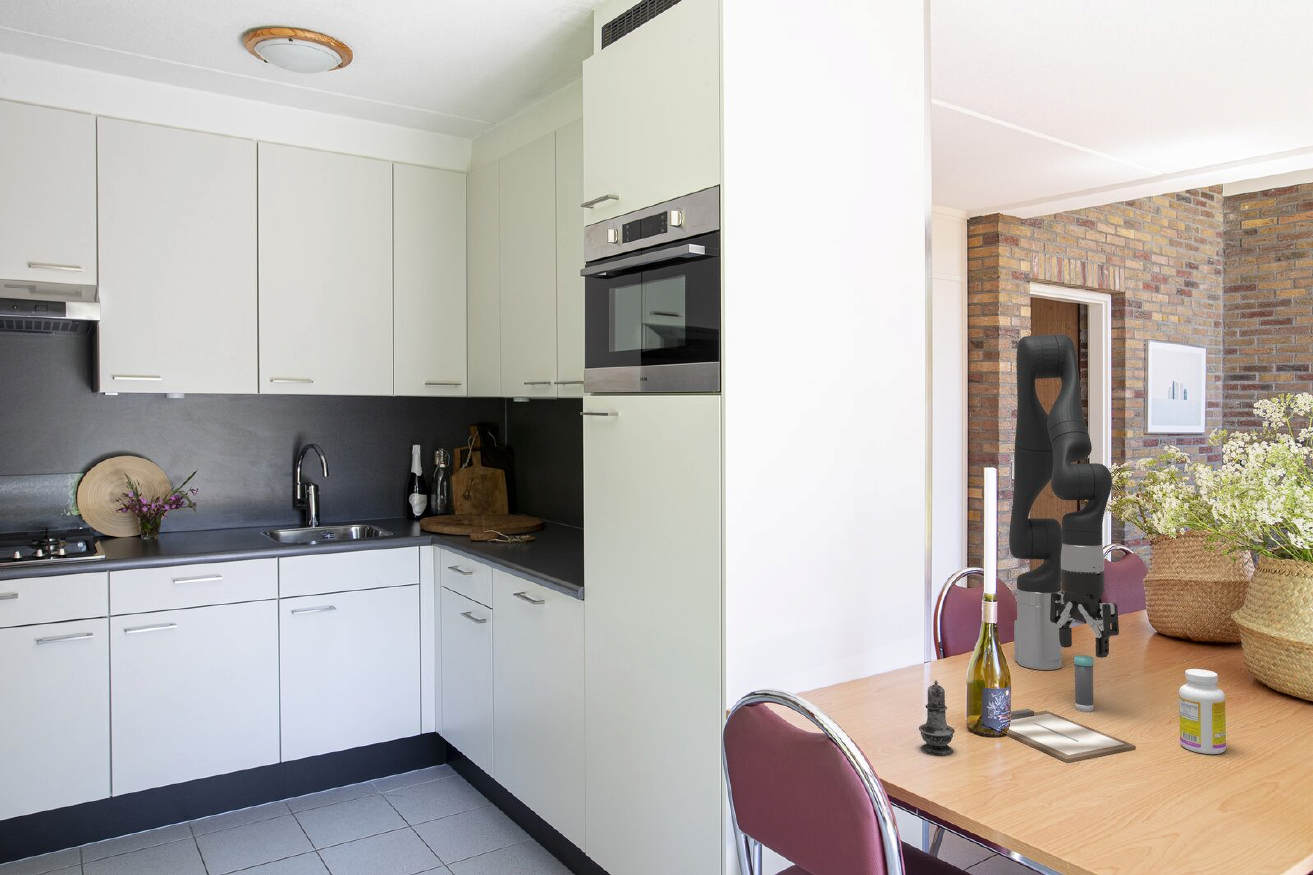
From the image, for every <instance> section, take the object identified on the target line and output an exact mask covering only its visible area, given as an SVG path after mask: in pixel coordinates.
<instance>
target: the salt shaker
mask: <svg viewBox="0 0 1313 875" xmlns="http://www.w3.org/2000/svg"><path fill="white" fill-rule="evenodd" d="M933 683H934V684H932V685H930V686H928V688H927V704H925V708H926V709H927V711H926V712H927V719H926V722H925V723H924V724H921V725H920V726H919V727H918V731H920V735H921V738H922V740H923V741H924V744H923V745H922V746H920V751H922V752H923V753H925V754H927V755H931V756H937V757H945V756H951V755H952V754H953V753H954V749H953V748H952V747H951V746H949V744H950V743H951V741H952V739H953V737H954V734H955V731H956V730H955V728H953V727H952V726H950V725H948V723H947V719H946V711H947V710H948V706H947V705H946V692H945V688H944V687H943V686H941V685H939V682H938V680H937V679H935V680H934V681H933Z"/></svg>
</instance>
